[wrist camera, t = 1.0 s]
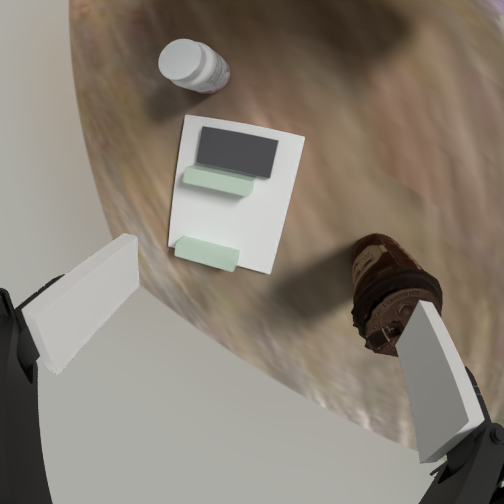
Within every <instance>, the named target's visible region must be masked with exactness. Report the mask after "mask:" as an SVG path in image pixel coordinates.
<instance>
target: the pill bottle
mask: <svg viewBox="0 0 504 504" xmlns="http://www.w3.org/2000/svg"><path fill="white" fill-rule="evenodd" d="M158 65H159V69H160V72H161V73H162V74H163V76H165V77H166V78H168V79H170V80H171V81H172V82H173V83H174V84H176V85H177V86H179V87H183V88H186V89H190V90H193V91H196V92H199V93H203V94H211V93H215V92H217V91H219V90H221V89H222V88H223V87H224V86H225V85H226V84H227V82H228V80H229V78H230V67H229V65H228V63H227V62H226V60H225V59H224V58H222V57H221V56H220V55H218V54H217V53H216V52H215V51H214V50H212V49H211V48H210V47H208V46H207V45H205V44H203V43H200V42H194V41H192V40H190V39H178V40H175V41H173V42H171V43H170V44H168V45H167V46H166V47H165V48H164V49H163V51H162V52H161V54H160V57H159V61H158Z"/></svg>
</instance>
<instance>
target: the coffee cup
mask: <svg viewBox="0 0 504 504" xmlns="http://www.w3.org/2000/svg"><path fill="white" fill-rule="evenodd" d="M351 262H352V267H353V269H352V283H353V303H354V307H353V310H352V311H351V313H352V315H353V322H354V324H353V326H354V327H357V328H358V330H359V335H360V336H362V337H363V338H364V339H366V344H365V347H366V348H368V349H371V350H373V352H375V353H378V354H385V355H391V356H396V357H398V353H397V349H396V346H395V345H396V343H397V342H398V340H399V338H400V336H401V335H402V333H403V331H404V329H405V327H406V325H407V324H408V322H409V320H410V318H411V316H412V314H413V312H414V310H415V308H416V306H417V304H418V302H419V300H422V301H426V302H431V303H433V305H434V307H435V308H436V310H437V312H438V314H439V316H440V318H441V310H442V303H443V301H442V290H441V287H440V284H439V282H438V280H437V279H436V278H435V277H433V276H432V275H430V274H428V273H427V272H426V271H424V270H423V269H422V267H421V266H420V265H419V264H418V263H417V262H416V261H415V260H414V259H413V258H412V257H411V256H410V255H409V254H408V253H407V252H406V251H405V250H404V249H403V248H402V247H401V246H400V245H399V244H398V243H397V242H396V241H395V240H393V239H392V238H391V237H389V236H387V235H384V234H378V233H375V234H372V235H369V236H367V237H365V238H363V239H362V240H360V241H359V242H358V244H357V245H356V247H355V249H354V251H353V253H352V258H351Z"/></svg>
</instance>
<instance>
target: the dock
mask: <svg viewBox="0 0 504 504" xmlns="http://www.w3.org/2000/svg"><path fill="white" fill-rule="evenodd" d="M304 140H305V137H303V136H299V135H295V134H291V133H287V132H282V131H278V130H273V129H269V128H264V127H259V126H254V125H249V124H244V123H238V122H233V121H227V120H221V119H214V118H207V117H200V116H193V115H185V120H184V126H183V132H182V138H181V144H180V150H179V157H178V164H177V171H176V178H175V186H174V194H173V202H172V211H171V221H170V231H169V243H168V246H169V247H173V248H175V256H177V257H181V258H184V259H188V260H191V261H195V262H198V263H202V264H205V265H209V266H212V267H216V268H219V269H223V270H227V271H230V272H233V271H234V269H235V267H236V265H237V266H241V267H245V268H248V269H252V270H256V271H259V272H263V273H267V274H271V270H272V266H273V262H274V259H275V255H276V251H277V247H278V244H279V240H280V236H281V232H282V228H283V224H284V221H285V217H286V213H287V209H288V205H289V201H290V197H291V193H292V189H293V185H294V181H295V177H296V173H297V169H298V165H299V161H300V157H301V153H302V148H303V144H304Z"/></svg>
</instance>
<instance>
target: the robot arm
mask: <svg viewBox="0 0 504 504" xmlns="http://www.w3.org/2000/svg"><path fill="white" fill-rule="evenodd" d="M138 287H139V270H138V243H137V236H134V235H130V234H126V233H124V234H122V235H121V236H119V237H118V238H116V239H115V240H113V241H112V242H110V243H109V244H107V245H106V246H105V247H103V248H102V249H100V250H99V251H97V252H96V253H94V254H93V255H92V256H90V257H89V258H87V259H86V260H85V261H83V262H82V263H80V264H79V265H78V266H76V267H75V268H74V269H72V270H71V271H69V272H68V273H67V274H63V275H61V276H58V277H56V278H54V279H52V280H51V281H50V282H48V283H47V284H46V285H45V287H44V286H43V287H42V288H41V289H40V290H38V292H36V293H34V294H33V295H31V297H29V298H28V299H27V300H25V301H24V302H23V303H22V304H20V305H19V306H18V307H17V308H15V309H14V307H13V304H12V302H11V299H10V296H9V293H8V291H7V290H5V289H3V288H0V504H53V503H52V499H51V495H50V491H49V487H48V482H47V477H46V472H45V466H44V460H43V453H42V446H41V437H40V427H39V414H38V387H37V386H38V381H37V380H38V367H37V362H36V360H37V359H38V358H39V357H41V359H42V362H43V364H44V366H45V367H46V368H48V369H49V370H51V371H52V372H54V373H55V374H57V375H59V374H60V373H61V372H62V370H63V369H64V368H65V367H66V366H67V365H68V364H69V362H70V361H71V360H72V359H73V358H74V356H75V355H76V354H77V353H78V352H79V351H80V350H81V349H82V347H83V346H84V345H85V344H86V343H87V342H88V341H89V340H90V339H91V337H92V336H93V335H94V334H95V333H96V332H97V331H98V330H99V329H100V327H101V326H102V325H103V324H104V323H105V322H106V321H107V320H108V319H109V318H110V317H111V316H112V314H113V313H114V312H115V311H116V310H117V309H118V308H119V307H120V306H121V305H122V304H123V303H124V302H125V301H126V299H128V298H129V296H130V295H131V294H132V293H133V292H134V291H135V290H136V289H137V288H138ZM395 346H396V349H397V353H398V357H399V360H400V364H401V368H402V372H403V376H404V380H405V384H406V389H407V393H408V397H409V402H410V407H411V412H412V417H413V422H414V427H415V433H416V439H417V445H418V452H419V458H420V463H421V464H422V463H430V462H437V461H438V460H439V459H440V458H442V457H443V456H444V455H447V461H446V462H444V463H443V464H442V465H440V466H439V467H438V468H436V469H435V470H434V471H432V472H431V473H430V475H431V476H432V475H433V474H435V473H436V472H438V471H439V472H438V473H437V475H436V476H435V477H434V478H435V479H434V480H433V482H432V484H431V485H430V487H429V489H428V490H427V492H426V493H425V495H424V496H423V498H422V499H421V501H420V502H419V504H504V487H501V484H502V481H504V428H503V427H502V426H501V425H500V424H498V423H492V422H491V419H490V417H489V414H488V411H487V408H486V405H485V403H484V400H483V398H482V395H480V390H479V388H478V387H477V383H476V380H475V378H474V376H473V374H472V373H471V372H470V371H469V369H468V368H467V367H465V366H464V365H463V363H462V361H461V358H460V356H459V354H458V352H457V350H456V348H455V346H454V343H453V341H452V339H451V337H450V335H449V333H448V331H447V329H446V327H445V325H444V323H443V322H442V320H441V318H440V316H439V314H438V312H437V310H436V308H435V307H434V305H433V303H431V302H426V301H422V300H419V302H418V304H417V306H416V308H415V310H414V312H413V314H412V316H411V318H410V320H409V322H408V324H407V325H406V327H405V329H404V331H403V333H402V335H401V336H400V338H399V340H398V342H397V343H396V345H395Z"/></svg>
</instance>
